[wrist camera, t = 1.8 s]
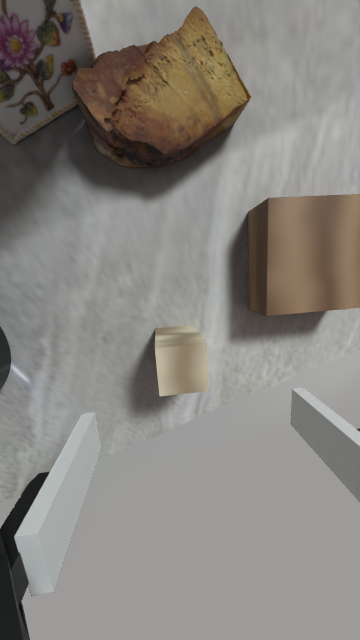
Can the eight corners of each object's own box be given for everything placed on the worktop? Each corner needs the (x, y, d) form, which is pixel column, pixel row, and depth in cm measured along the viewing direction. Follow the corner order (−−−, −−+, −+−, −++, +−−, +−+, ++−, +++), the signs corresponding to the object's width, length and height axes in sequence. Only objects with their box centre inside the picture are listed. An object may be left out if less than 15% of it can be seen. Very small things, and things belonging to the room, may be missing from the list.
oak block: (158, 364, 29) (159, 396, 22) (155, 328, 28) (154, 348, 21) (195, 360, 30) (208, 390, 22) (193, 324, 29) (206, 343, 21)
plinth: (248, 309, 29) (266, 316, 24) (248, 212, 27) (268, 198, 22) (332, 301, 30) (365, 307, 25) (339, 207, 28) (378, 193, 23)
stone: (204, 39, 23) (217, -27, 18) (240, 132, 25) (261, 97, 20) (80, 111, 23) (58, 67, 18) (126, 197, 25) (118, 178, 20)
